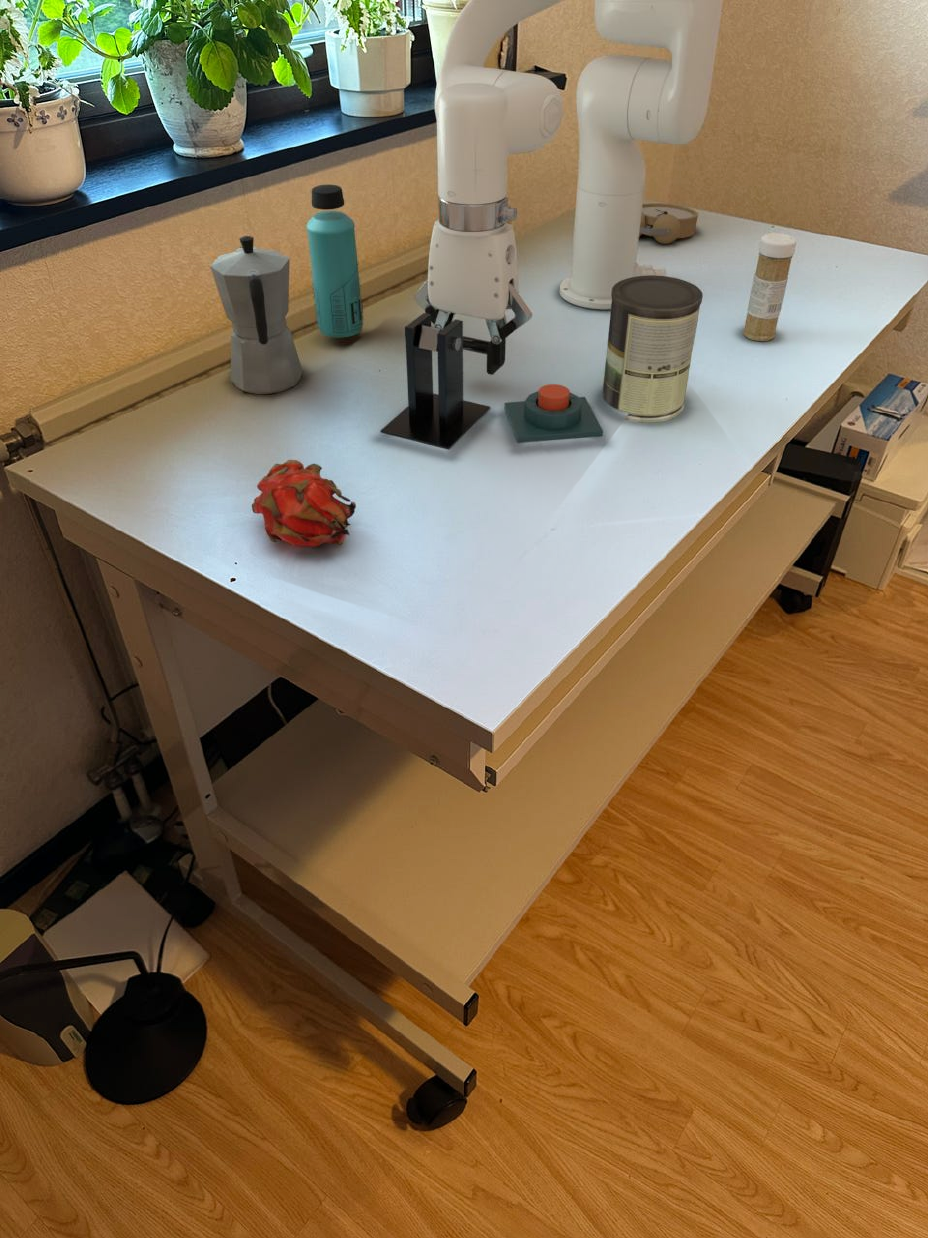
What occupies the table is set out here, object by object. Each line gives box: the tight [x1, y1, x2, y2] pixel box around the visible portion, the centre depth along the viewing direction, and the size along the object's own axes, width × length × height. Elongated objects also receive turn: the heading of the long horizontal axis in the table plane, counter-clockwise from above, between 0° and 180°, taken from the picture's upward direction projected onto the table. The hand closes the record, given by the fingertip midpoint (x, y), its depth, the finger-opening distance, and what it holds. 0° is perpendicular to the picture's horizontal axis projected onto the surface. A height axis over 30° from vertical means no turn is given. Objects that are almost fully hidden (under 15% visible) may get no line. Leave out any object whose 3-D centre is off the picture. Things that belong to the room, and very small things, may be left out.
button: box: [538, 383, 571, 411], centre depth 108 cm, size 4×4×2 cm
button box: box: [503, 390, 604, 444], centre depth 110 cm, size 10×8×4 cm
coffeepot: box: [209, 235, 304, 395], centre depth 114 cm, size 15×9×18 cm, turn 15°
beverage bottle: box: [305, 184, 365, 339], centre depth 124 cm, size 6×7×20 cm
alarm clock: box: [639, 202, 699, 245], centre depth 162 cm, size 11×5×15 cm
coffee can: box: [602, 275, 704, 423], centre depth 111 cm, size 10×10×14 cm
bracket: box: [379, 312, 491, 450], centre depth 107 cm, size 11×9×13 cm
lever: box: [419, 326, 491, 356], centre depth 109 cm, size 13×6×2 cm, turn 154°
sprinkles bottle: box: [742, 232, 797, 342], centre depth 127 cm, size 5×5×13 cm
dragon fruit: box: [251, 459, 357, 548], centre depth 92 cm, size 8×8×12 cm
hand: (471, 363), depth 115 cm, fingers closed on lever, 5 cm apart
